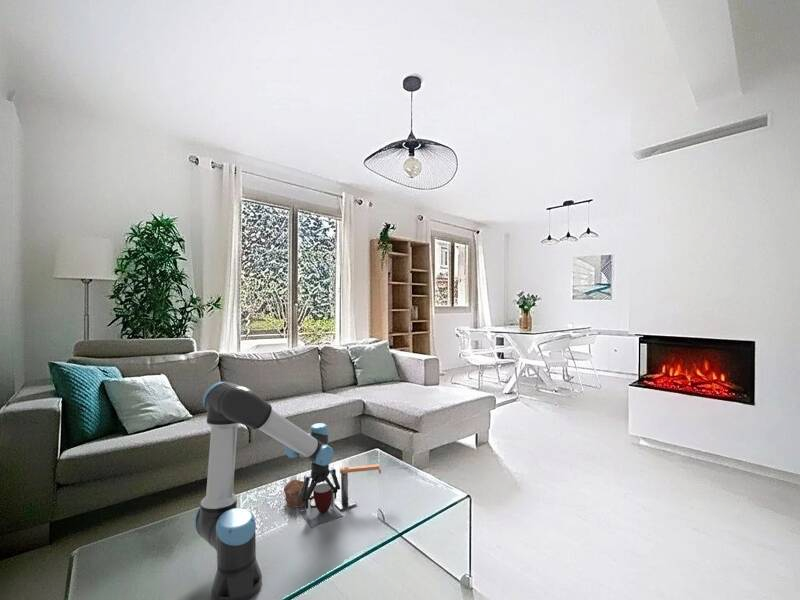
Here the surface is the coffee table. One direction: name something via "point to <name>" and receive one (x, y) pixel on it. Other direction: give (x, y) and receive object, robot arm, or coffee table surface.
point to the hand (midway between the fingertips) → (320, 510)
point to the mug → (322, 497)
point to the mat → (320, 516)
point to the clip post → (344, 495)
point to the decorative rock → (294, 493)
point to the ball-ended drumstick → (360, 468)
